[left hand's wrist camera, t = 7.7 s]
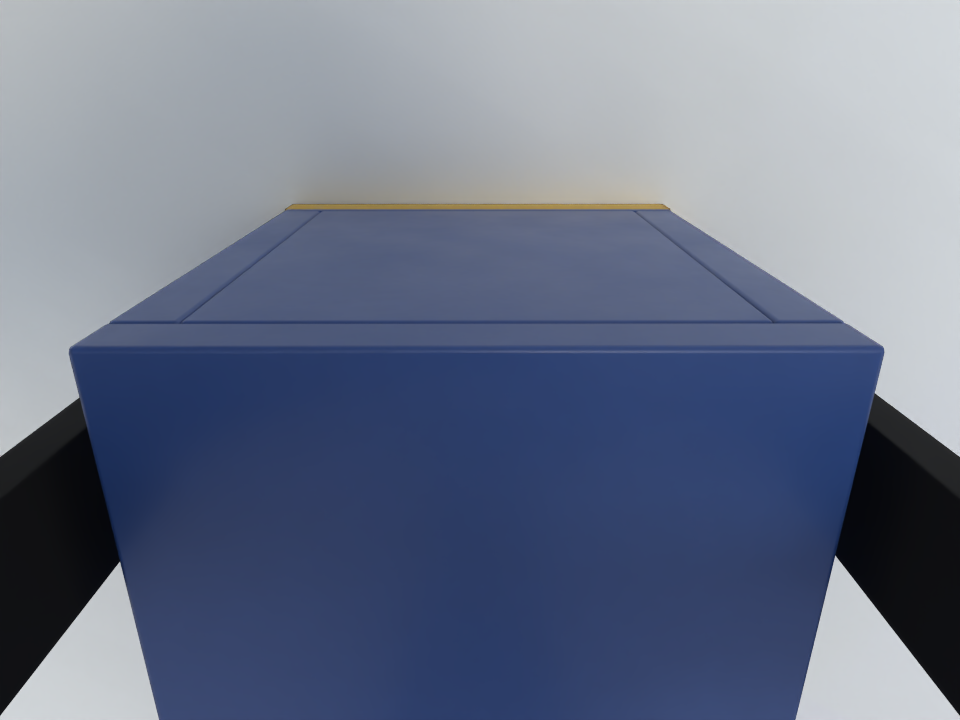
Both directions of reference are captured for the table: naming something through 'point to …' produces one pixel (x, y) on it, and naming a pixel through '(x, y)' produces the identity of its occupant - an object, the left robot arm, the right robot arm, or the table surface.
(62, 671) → the table surface
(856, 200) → the table surface
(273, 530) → the cabinet
